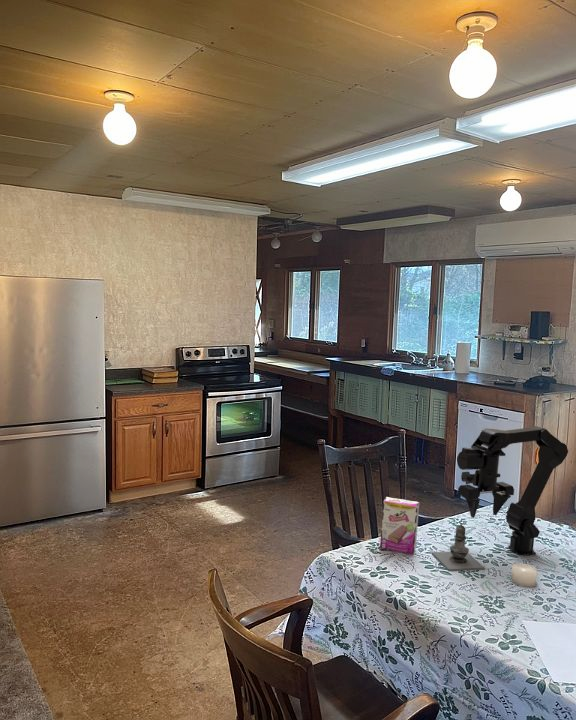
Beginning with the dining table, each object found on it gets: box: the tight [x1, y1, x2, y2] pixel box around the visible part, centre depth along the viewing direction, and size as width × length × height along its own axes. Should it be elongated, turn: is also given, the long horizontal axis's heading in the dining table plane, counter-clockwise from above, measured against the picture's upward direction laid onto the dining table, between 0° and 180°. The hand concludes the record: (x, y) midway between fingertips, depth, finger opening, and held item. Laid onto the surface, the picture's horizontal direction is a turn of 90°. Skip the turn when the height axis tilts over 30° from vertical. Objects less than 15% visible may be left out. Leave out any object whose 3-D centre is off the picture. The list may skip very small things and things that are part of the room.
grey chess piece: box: [449, 522, 470, 563], centre depth 184 cm, size 6×6×12 cm
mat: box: [431, 551, 486, 572], centre depth 184 cm, size 12×12×1 cm
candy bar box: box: [379, 496, 420, 556], centre depth 190 cm, size 11×5×16 cm, turn 71°
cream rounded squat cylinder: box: [510, 562, 538, 588], centre depth 173 cm, size 7×7×4 cm
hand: (483, 516), depth 189 cm, fingers open, 9 cm apart
